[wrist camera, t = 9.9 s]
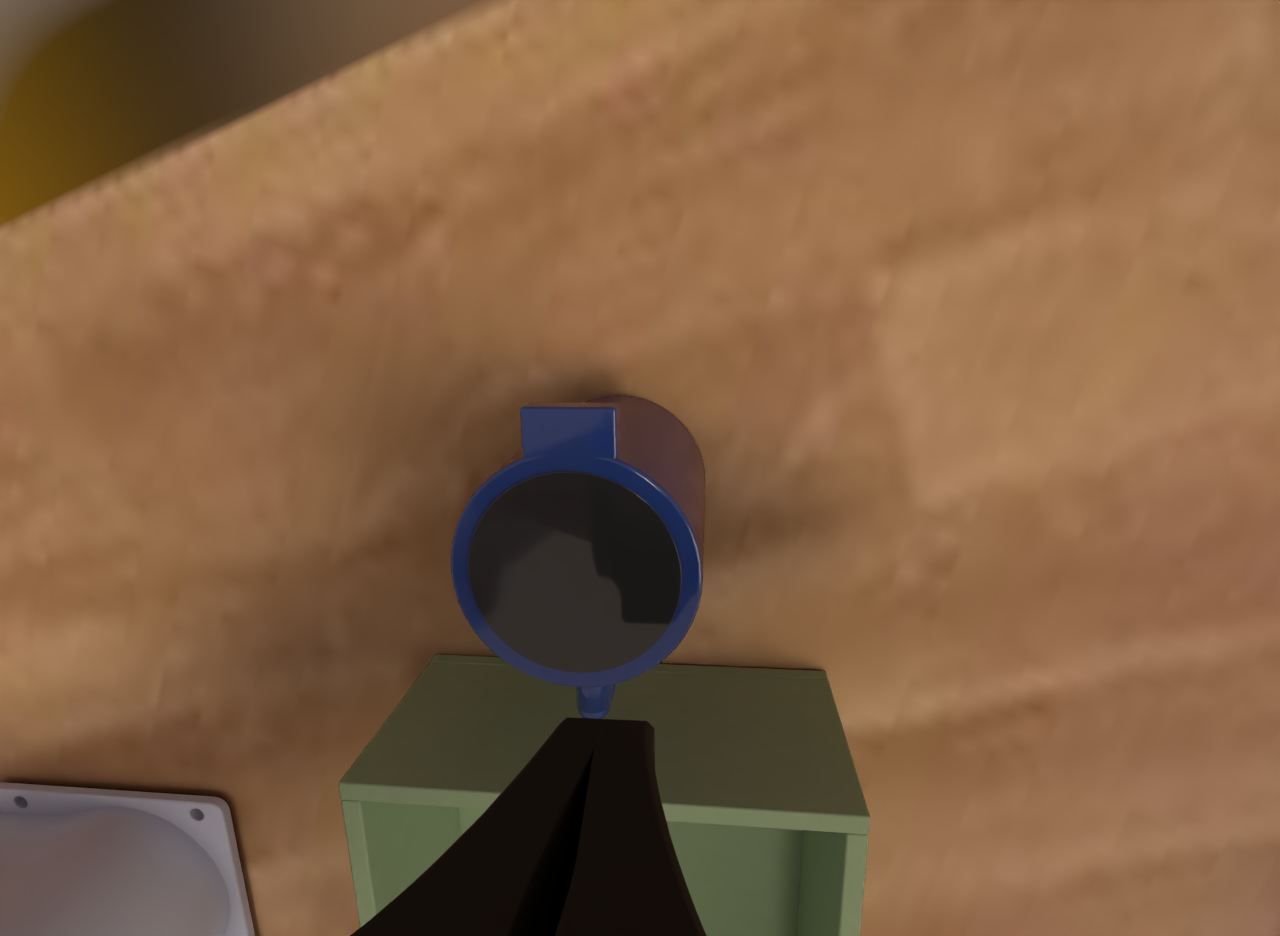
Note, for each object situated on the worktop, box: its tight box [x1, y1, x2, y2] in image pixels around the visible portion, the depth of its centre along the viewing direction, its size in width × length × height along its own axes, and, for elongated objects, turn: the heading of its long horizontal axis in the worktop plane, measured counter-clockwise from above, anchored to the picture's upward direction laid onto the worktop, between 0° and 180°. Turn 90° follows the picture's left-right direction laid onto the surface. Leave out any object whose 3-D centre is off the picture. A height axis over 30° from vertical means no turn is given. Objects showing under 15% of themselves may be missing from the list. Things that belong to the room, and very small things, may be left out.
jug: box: [451, 396, 705, 719], centre depth 16 cm, size 8×5×7 cm, turn 1°
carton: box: [339, 654, 870, 936], centre depth 20 cm, size 12×14×6 cm
